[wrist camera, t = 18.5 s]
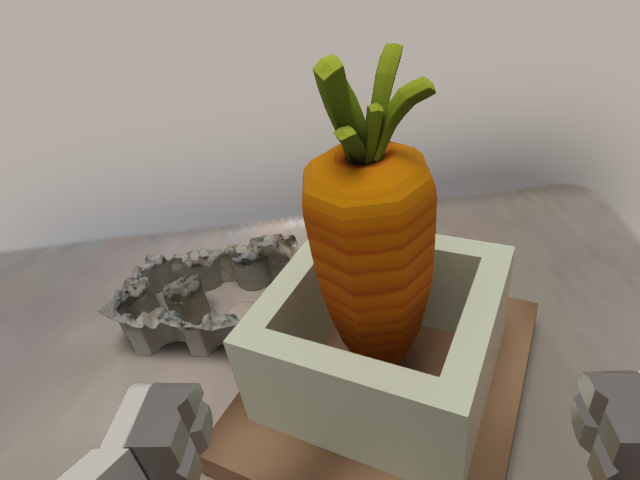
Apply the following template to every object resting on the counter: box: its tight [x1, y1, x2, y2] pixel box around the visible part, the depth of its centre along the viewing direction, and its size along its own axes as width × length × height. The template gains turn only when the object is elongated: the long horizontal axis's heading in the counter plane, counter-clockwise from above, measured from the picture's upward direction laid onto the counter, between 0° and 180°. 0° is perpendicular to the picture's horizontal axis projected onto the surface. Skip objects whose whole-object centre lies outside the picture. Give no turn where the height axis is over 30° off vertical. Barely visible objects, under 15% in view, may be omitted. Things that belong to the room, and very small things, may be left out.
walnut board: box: [199, 298, 538, 480], centre depth 24 cm, size 12×14×2 cm
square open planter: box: [223, 234, 515, 480], centre depth 22 cm, size 9×9×5 cm
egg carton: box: [97, 234, 297, 357], centre depth 29 cm, size 11×8×4 cm
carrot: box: [302, 43, 437, 365], centre depth 19 cm, size 5×5×15 cm
